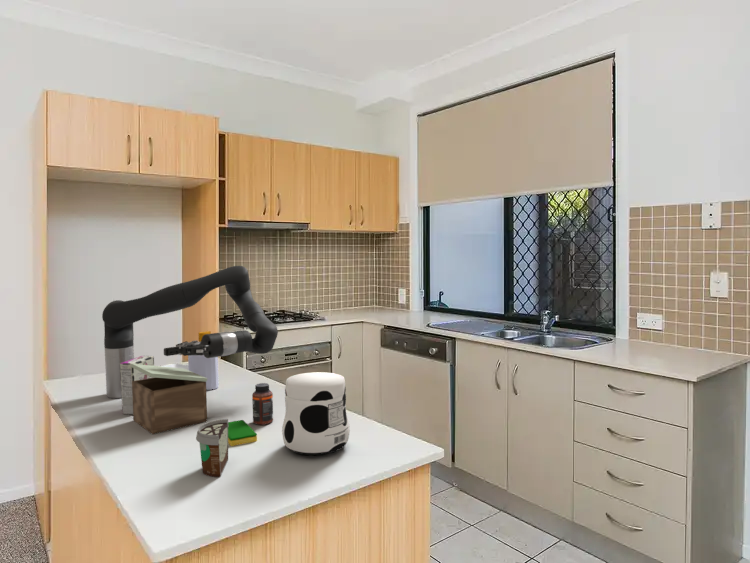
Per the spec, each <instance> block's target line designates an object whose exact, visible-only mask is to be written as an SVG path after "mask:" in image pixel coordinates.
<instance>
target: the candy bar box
mask: <svg viewBox="0 0 750 563" xmlns="http://www.w3.org/2000/svg"><path fill="white" fill-rule="evenodd" d="M131 364H141V365H151V366H155V357H154V355H153V356H152V355H140V356H138V357H134V359H131V360H128V361H126V362H123V363H120V377H121V394H122V398H121V406H122V407H121V408H122V415H129V416H130V415H131V416H133V396H132V381H137V380H143V379H148V378H154V377H150V376H148V375H146V374H144V373H142V372H140V371H138V370H136V369H134V368H132V367H131Z"/></svg>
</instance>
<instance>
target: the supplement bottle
mask: <svg viewBox="0 0 750 563" xmlns="http://www.w3.org/2000/svg"><path fill="white" fill-rule="evenodd" d="M254 389H255V391H254V392H253V393H252V395H251V396H252V398H251V399H252V400H251V401H252V402H251V403H252V422H253V424H255V425H258V426H259V425H262V426H263V425H268V424H271V423H273V421H274V399H273V397H274V396H273V391H272V390H270V384H269V383H268V382H267V383H266V382H260V383H256V384H255V387H254Z"/></svg>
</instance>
